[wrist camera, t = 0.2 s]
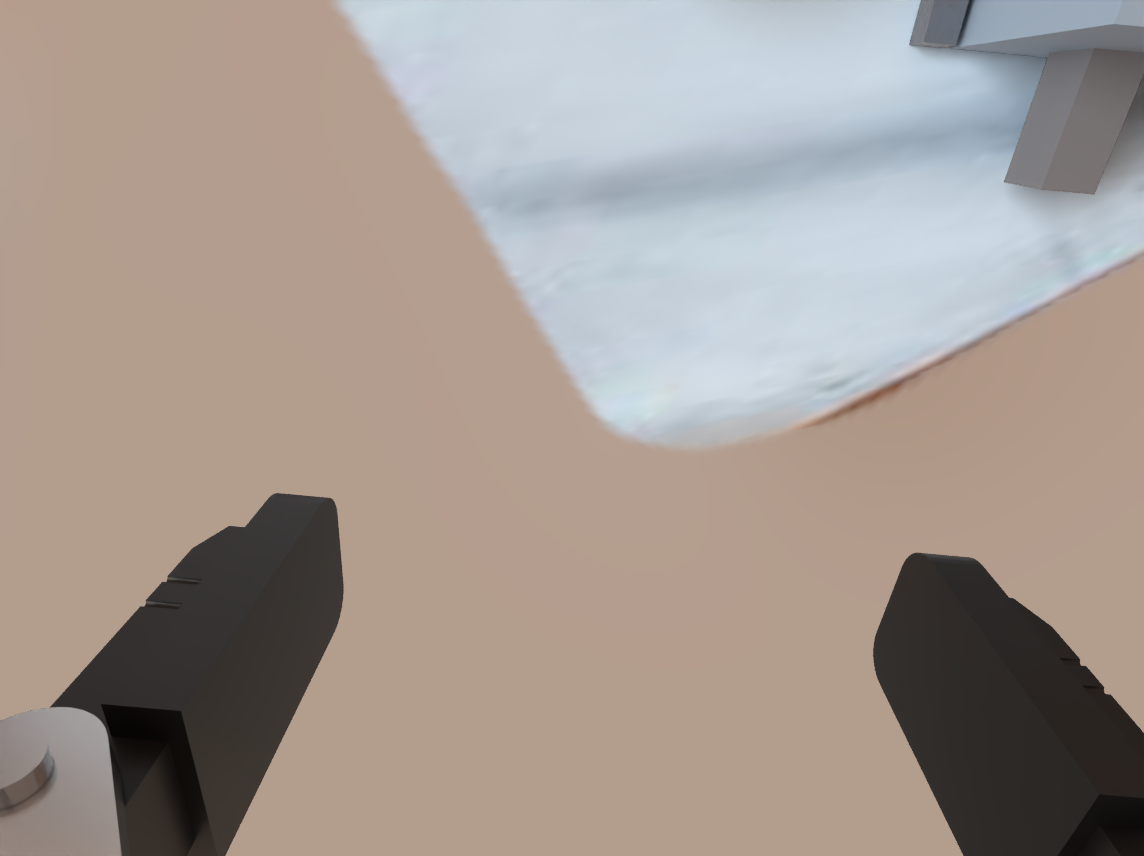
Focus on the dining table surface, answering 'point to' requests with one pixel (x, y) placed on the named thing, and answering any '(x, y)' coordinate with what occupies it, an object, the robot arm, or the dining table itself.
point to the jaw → (1066, 81)
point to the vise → (938, 23)
